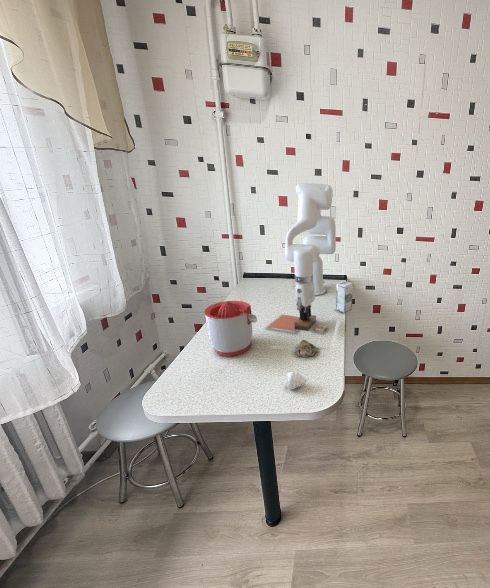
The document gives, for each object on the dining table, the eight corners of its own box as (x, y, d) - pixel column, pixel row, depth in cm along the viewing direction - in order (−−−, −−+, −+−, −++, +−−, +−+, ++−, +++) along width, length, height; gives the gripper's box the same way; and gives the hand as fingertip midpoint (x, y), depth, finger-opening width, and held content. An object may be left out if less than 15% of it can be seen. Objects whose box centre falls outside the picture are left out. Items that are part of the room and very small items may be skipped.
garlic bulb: (305, 392, 105) (305, 378, 103) (286, 392, 105) (285, 378, 103) (308, 381, 110) (307, 368, 108) (289, 381, 110) (289, 368, 108)
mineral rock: (320, 351, 124) (299, 348, 121) (317, 361, 125) (296, 359, 122) (315, 338, 133) (295, 335, 130) (312, 348, 134) (293, 345, 131)
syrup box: (343, 306, 169) (343, 280, 163) (352, 310, 166) (352, 283, 160) (335, 310, 164) (335, 282, 159) (344, 313, 161) (345, 285, 156)
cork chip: (318, 327, 146) (318, 324, 146) (327, 329, 145) (326, 326, 145) (314, 331, 142) (314, 328, 142) (323, 333, 142) (323, 330, 141)
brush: (303, 319, 150) (303, 301, 147) (316, 321, 149) (315, 303, 146) (294, 328, 142) (293, 309, 139) (307, 330, 141) (306, 311, 138)
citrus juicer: (255, 359, 121) (250, 309, 114) (204, 361, 118) (196, 310, 111) (262, 338, 135) (258, 292, 128) (217, 339, 132) (210, 293, 125)
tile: (282, 316, 155) (282, 314, 154) (308, 320, 152) (308, 318, 152) (267, 328, 143) (267, 326, 143) (295, 333, 140) (295, 331, 140)
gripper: (303, 286, 129) (305, 327, 136) (320, 273, 144) (320, 311, 151) (286, 283, 131) (288, 324, 138) (304, 271, 146) (305, 309, 153)
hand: (305, 317), depth 144 cm, fingers closed on brush, 3 cm apart
